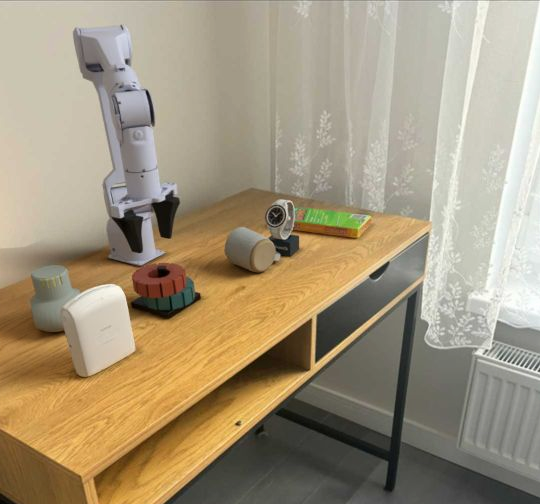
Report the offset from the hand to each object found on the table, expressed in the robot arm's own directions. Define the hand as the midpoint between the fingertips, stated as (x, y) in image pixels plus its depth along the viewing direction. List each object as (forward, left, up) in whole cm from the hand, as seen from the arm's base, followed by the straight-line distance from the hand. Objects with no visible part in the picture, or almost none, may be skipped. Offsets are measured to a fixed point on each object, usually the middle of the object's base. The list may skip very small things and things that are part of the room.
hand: (152, 244), depth 109 cm
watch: (+9, +29, -11) cm, 32 cm away
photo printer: (+8, -22, -11) cm, 25 cm away
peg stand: (+3, -2, -10) cm, 11 cm away
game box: (+9, +46, -11) cm, 48 cm away
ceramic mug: (+8, +20, -11) cm, 24 cm away
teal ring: (+4, -2, -9) cm, 10 cm away
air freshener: (-8, -17, -11) cm, 21 cm away
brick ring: (+3, -3, -7) cm, 8 cm away
